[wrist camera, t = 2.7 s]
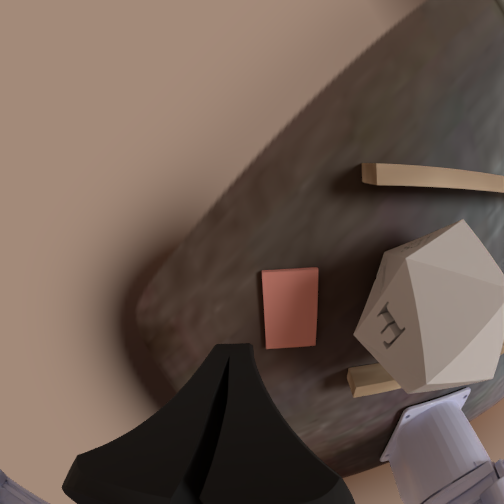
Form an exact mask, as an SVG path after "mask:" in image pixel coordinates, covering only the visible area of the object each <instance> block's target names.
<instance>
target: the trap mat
mask: <svg viewBox="0 0 504 504" xmlns="http://www.w3.org/2000/svg"><path fill="white" fill-rule="evenodd" d="M262 283H263V300H264V317H265V335H266V349H275V348H291V347H304V346H316V328H317V305H318V267H312V268H296V269H279V270H262Z"/></svg>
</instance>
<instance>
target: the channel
mask: <svg viewBox="0 0 504 504" xmlns="http://www.w3.org/2000/svg"><path fill="white" fill-rule="evenodd" d="M362 182H364V183H369V184H374V185H394V186H424V187H443V188H459V189H472V190H483V191H493V192H503V193H504V176H500V175H494V174H487V173H481V172H473V171H466V170H458V169H449V168H439V167H428V166H415V165H400V164H379V163H362ZM503 353H504V342H503V346H502V349H501V353H500V355H501V354H503ZM347 380H348V383H349V386H350V389H351V392H352V395H353V397H360V396H366V395H371V394H376V393H381V392H386V391H390V390H395V389H399V388H402V387H401V386H400V385H399V384H398V383H397V382H396V381H395V379H394V378H393V377H392V376H391V375H390V374H389V373H388V372H387V371H386V370H385V369H384V367H383V366H382V365H381V364H380V363H376V364H370V365H364V366H357V367H351V368H349V369H348V374H347Z"/></svg>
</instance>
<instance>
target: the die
mask: <svg viewBox="0 0 504 504" xmlns="http://www.w3.org/2000/svg"><path fill="white" fill-rule="evenodd" d="M353 335H354V336H355V337H356V338H357V339H358V341H359V342H360V343H361V344H362V345H363V346H364V347H365V348H366V349H367V350H368V351H369V352H370V353H371V354H372V356H373V357H374V358H375V359H376V360H377V361H378V362H379V363H380V364H381V365H382V366H383V367H384V369H385V370H386V371H387V372H388V373H389V374H390V375H391V376H392V377H393V378H394V379H395V381H396V382H397V383H398V384H399V385H400V386H401V387H402V388H403V389H404V390H405V392H406V393H407V394H410V393H419V392H426V391H433V390H440V389H446V388H452V387H457V386H463V385H468V384H472V383H477V382H481V381H486V380H490V379H493V376H494V373H495V370H496V367H497V364H498V360H499V357H500V353H501V349H502V346H503V342H504V274H503V273H502V271H501V270H500V268H499V267H498V265H497V264H496V262H495V261H494V259H493V258H492V257H491V255H490V254H489V252H488V251H487V249H486V248H485V247H484V245H483V244H482V243H481V241H480V240H479V239H478V237H477V236H476V235H475V233H474V232H473V231H472V230H471V228H470V227H469V226H468V225H467V223H466V222H465V221H464V220H463V219H462V220H460V221H458V222H455V223H453V224H451V225H449V226H446V227H444V228H442V229H439V230H437V231H435V232H432V233H430V234H427V235H425V236H423V237H420V238H418V239H415V240H413V241H410V242H408V243H406V244H403V245H401V246H398V247H396V248H393V249H390V250H388V251H385V252H384V254H383V258H382V261H381V264H380V267H379V270H378V272H377V275H376V280H375V281H374V284H373V287H372V289H371V292H370V295H369V297H368V300H367V302H366V305H365V308H364V310H363V313H362V315H361V318H360V320H359V322H358V325H357V327H356V330H355V332H354V334H353Z"/></svg>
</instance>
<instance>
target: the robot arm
mask: <svg viewBox="0 0 504 504" xmlns="http://www.w3.org/2000/svg"><path fill="white" fill-rule="evenodd" d="M470 391H471V389H470V388H469V387H467V388H465V389H462V390H460V391H457V392H454V393H452V394H449V395H446V396H443V397H440V398H437V399H434V400H431V401H428V402H425V403H422V404H418V405H415V406H411V407H408V408H406V409H405V410H404V411H403V413H402V415H401V417H400V420H399V422H398V424H397V426H396V428H395V430H394V432H393V434H392V436H391V438H390V440H389V442H388V444H387V446H386V448H385V450H384V452H383V454H382V456H381V458H380V461H381V462H384V461H388V460H389V463H390V466H391V469H392V472H393V475H394V478H395V481H396V484H397V488H398V491H399V494H400V497H401V499H402V501H403V503H404V504H504V460H501V459H500V460H498V461H497V462H496V463H494V462H492V461H491V460H490V458H489V456H488V454H487V452H486V451H485V449H484V447H483V445H482V444H481V442H480V440H479V438H478V437H477V435H476V433H475V432H474V430H473V428H472V427H471V425H470V423H469V422H468V420H467V418H466V417H465V415H464V414H463V412H462V410H461V408H462V406H463V404H464V403H465V401H466V399H467V397H468V395H469V393H470ZM62 489H63V491H64V493H65V494H66V495H67V496H68V497H70V498H71V499H72V500H73V501H75V502H76V503H77V504H355V502H354V499H353V497H352V494H351V493H350V491H349V489H348V487H347V486H346V484H345V482H344V481H343V479H342V477H341V476H340V475H339V474H337V473H336V472H335V471H333V470H332V469H331V468H330V467H329V466H327V465H326V464H325V463H324V462H323V461H322V460H320V459H319V458H318V457H317V456H316V455H315V454H314V453H313V452H312V451H311V450H310V449H309V448H308V447H307V446H306V445H305V444H304V442H303V441H302V440H301V439H300V438H299V437H298V436H297V434H296V433H295V432H294V431H293V430H292V429H291V427H290V426H289V425H288V423H287V422H286V421H285V419H284V418H283V416H282V415H281V413H280V412H279V410H278V409H277V407H276V406H275V404H274V402H273V401H272V399H271V397H270V395H269V393H268V392H267V390H266V388H265V386H264V384H263V381H262V379H261V376H260V374H259V372H258V369H257V366H256V363H255V359H254V351H253V345H251V344H250V343H246V344H216V345H215V346H214V348H213V349H212V350H211V352H210V353H209V355H208V356H207V358H206V359H205V360H204V362H203V363H202V364H201V366H200V367H199V368H198V370H197V371H196V372H195V373H194V375H193V376H192V377H191V378H190V380H189V381H188V382H187V383H186V384H185V385H184V386H183V387H182V388H181V390H180V391H179V392H178V393H177V394H176V395H175V396H174V397H173V398H172V399H171V400H170V401H169V402H168V403H167V404H166V405H164V406H163V407H162V408H161V409H160V410H159V411H157V412H156V413H155V414H154V415H152V416H151V417H150V418H149V419H147V420H146V421H144V422H143V423H142V424H140V425H139V426H137V427H136V428H135V429H133V430H131V431H130V432H128V433H126V434H124V435H123V436H121V437H119V438H117V439H115V440H113V441H111V442H109V443H107V444H105V445H103V446H100V447H98V448H95V449H93V450H90V451H88V452H85V453H83V454H80V455H77V457H76V459H75V461H74V462H73V464H72V466H71V468H70V470H69V472H68V474H67V477H66V479H65V481H64V483H63V485H62ZM0 504H50V503H48V502H46V501H44V500H42V499H41V498H39V497H37V496H36V495H34V494H33V493H31V492H29V491H28V490H26V489H25V488H23V487H22V486H20V485H19V484H17V483H16V482H14V481H13V480H11V479H10V478H8V477H7V476H6V475H5V474H4V472H2V470H0Z"/></svg>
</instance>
